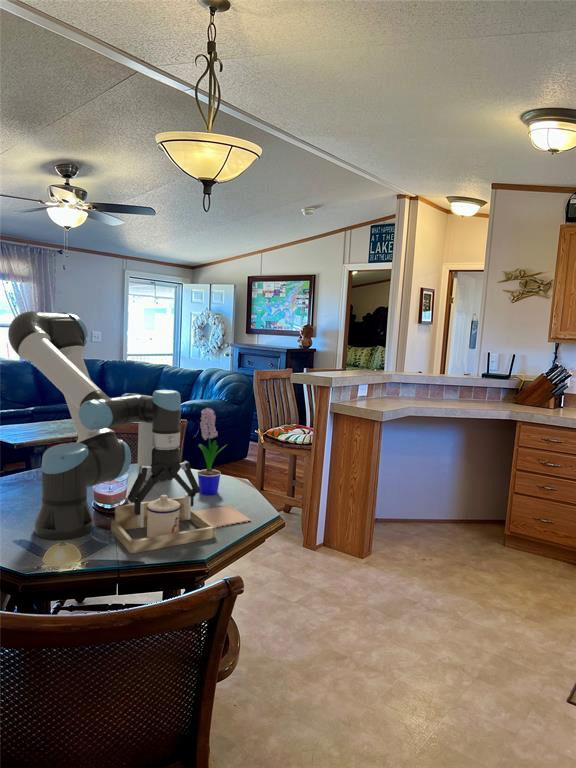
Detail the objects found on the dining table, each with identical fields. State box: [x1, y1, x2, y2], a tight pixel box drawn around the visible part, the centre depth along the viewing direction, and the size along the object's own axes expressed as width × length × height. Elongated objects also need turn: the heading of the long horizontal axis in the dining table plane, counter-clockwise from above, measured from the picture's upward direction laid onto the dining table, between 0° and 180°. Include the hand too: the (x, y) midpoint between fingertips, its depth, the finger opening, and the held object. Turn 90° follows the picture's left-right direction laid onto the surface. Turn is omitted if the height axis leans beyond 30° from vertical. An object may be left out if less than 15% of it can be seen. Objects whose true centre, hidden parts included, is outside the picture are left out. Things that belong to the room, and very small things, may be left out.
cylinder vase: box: [137, 422, 153, 482], centre depth 207 cm, size 12×12×25 cm
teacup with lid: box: [146, 494, 181, 538], centre depth 155 cm, size 12×9×12 cm
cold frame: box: [110, 496, 217, 555], centre depth 155 cm, size 24×17×7 cm
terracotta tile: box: [194, 505, 252, 529], centre depth 171 cm, size 14×14×1 cm
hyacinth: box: [197, 407, 228, 496], centre depth 193 cm, size 9×10×30 cm
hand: (164, 521), depth 155 cm, fingers open, 13 cm apart
